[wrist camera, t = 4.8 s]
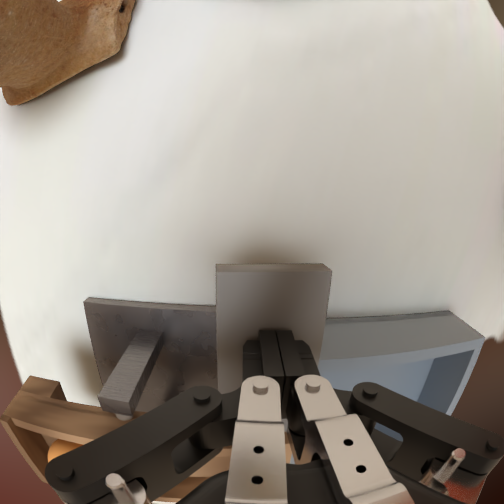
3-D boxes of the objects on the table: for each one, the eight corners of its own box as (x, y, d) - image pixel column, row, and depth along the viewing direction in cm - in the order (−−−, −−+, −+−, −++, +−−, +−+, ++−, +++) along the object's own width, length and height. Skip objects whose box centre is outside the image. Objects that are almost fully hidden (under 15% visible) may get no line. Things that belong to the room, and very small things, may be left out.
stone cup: (10, 139, 18) (-113, 135, 4) (15, 41, 16) (-75, 2, 1) (149, 78, 18) (39, -29, 4) (143, -22, 15) (86, -123, 1)
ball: (79, 420, 15) (100, 458, 12) (95, 452, 16) (117, 487, 13) (33, 433, 12) (47, 474, 10) (54, 465, 13) (71, 503, 11)
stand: (226, 306, 23) (216, 384, 13) (227, 439, 26) (224, 512, 17) (88, 297, 22) (25, 353, 13) (121, 426, 26) (95, 489, 16)
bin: (449, 310, 24) (485, 337, 18) (411, 414, 27) (431, 447, 21) (295, 318, 23) (310, 360, 17) (280, 433, 26) (286, 476, 20)
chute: (304, 250, 16) (347, 282, 11) (278, 455, 21) (293, 505, 15) (-3, 249, 14) (-56, 274, 8) (62, 442, 18) (45, 485, 12)
